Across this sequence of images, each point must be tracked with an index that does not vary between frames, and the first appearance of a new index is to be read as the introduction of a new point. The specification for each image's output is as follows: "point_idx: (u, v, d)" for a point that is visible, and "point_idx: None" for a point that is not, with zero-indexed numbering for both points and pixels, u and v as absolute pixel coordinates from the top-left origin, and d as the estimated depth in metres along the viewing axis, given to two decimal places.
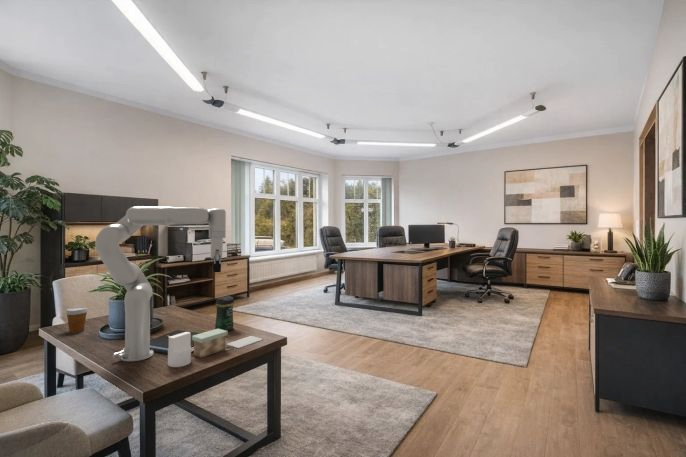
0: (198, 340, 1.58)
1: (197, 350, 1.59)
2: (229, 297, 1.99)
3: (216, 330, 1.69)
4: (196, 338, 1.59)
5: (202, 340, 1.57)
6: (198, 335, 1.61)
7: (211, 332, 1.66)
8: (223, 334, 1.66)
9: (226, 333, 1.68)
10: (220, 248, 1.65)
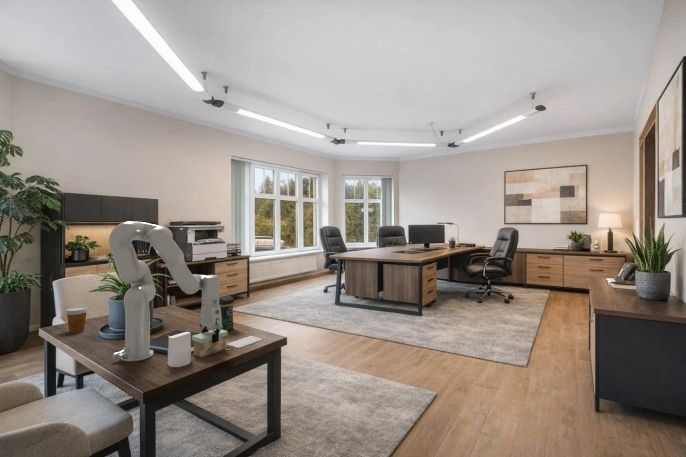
0: (198, 340, 1.58)
1: (197, 350, 1.59)
2: (229, 297, 1.99)
3: None
4: (196, 338, 1.59)
5: (202, 340, 1.57)
6: (198, 335, 1.61)
7: (211, 332, 1.66)
8: (223, 334, 1.66)
9: (226, 333, 1.68)
10: None
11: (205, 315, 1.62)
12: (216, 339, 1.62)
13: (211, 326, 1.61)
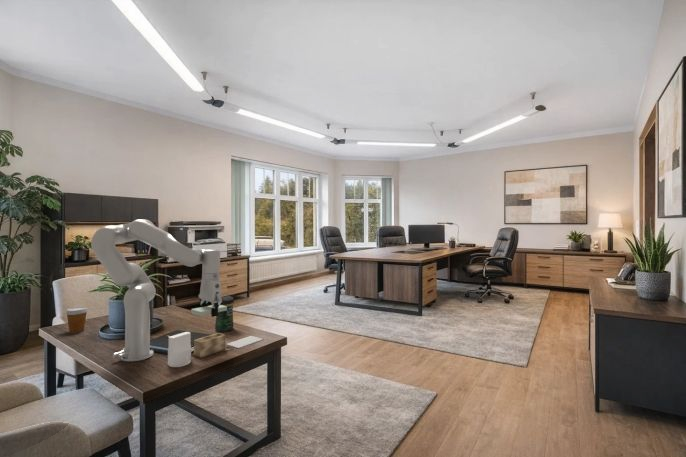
0: (197, 313, 1.58)
1: (197, 350, 1.59)
2: (229, 297, 1.99)
3: None
4: (196, 311, 1.58)
5: (201, 313, 1.57)
6: (197, 309, 1.61)
7: (210, 307, 1.66)
8: (222, 309, 1.66)
9: (225, 308, 1.68)
10: None
11: (205, 288, 1.62)
12: (215, 313, 1.61)
13: (211, 300, 1.60)
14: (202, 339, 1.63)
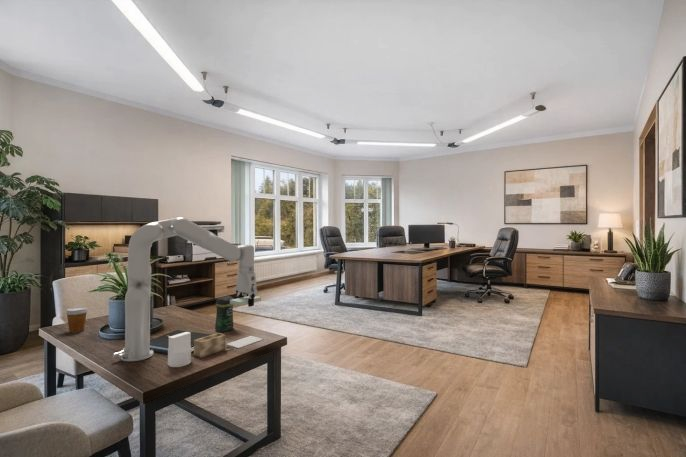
0: (236, 303, 1.72)
1: (197, 350, 1.59)
2: (229, 297, 1.99)
3: None
4: (234, 301, 1.73)
5: (240, 303, 1.72)
6: (235, 299, 1.76)
7: (246, 297, 1.80)
8: (257, 299, 1.81)
9: (260, 299, 1.82)
10: None
11: (241, 281, 1.77)
12: (252, 303, 1.76)
13: (247, 291, 1.75)
14: (202, 339, 1.63)
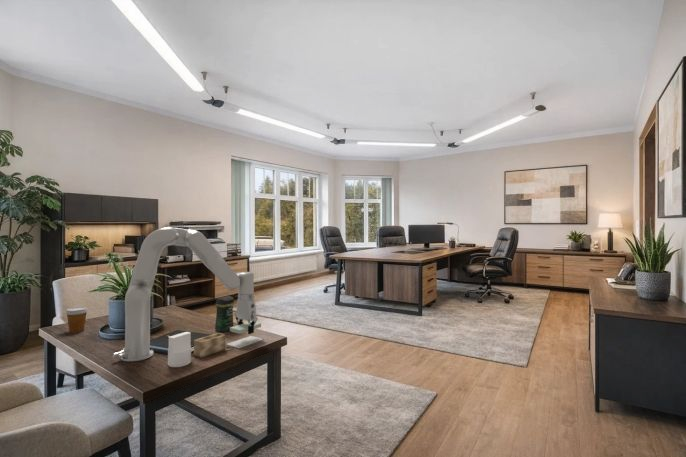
0: (236, 331, 1.73)
1: (197, 350, 1.59)
2: (229, 297, 1.99)
3: None
4: (234, 329, 1.73)
5: (240, 331, 1.72)
6: (235, 327, 1.76)
7: (246, 324, 1.81)
8: (257, 326, 1.81)
9: (260, 325, 1.83)
10: None
11: (241, 308, 1.77)
12: (252, 330, 1.77)
13: (247, 319, 1.75)
14: (202, 339, 1.63)
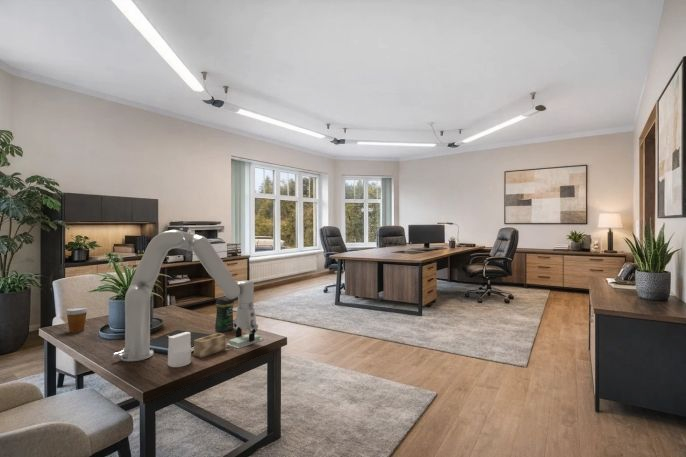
0: (235, 344, 1.73)
1: (197, 350, 1.59)
2: None
3: None
4: (233, 342, 1.73)
5: (239, 344, 1.72)
6: (234, 339, 1.76)
7: (245, 336, 1.81)
8: (256, 338, 1.81)
9: (259, 337, 1.83)
10: None
11: (241, 317, 1.77)
12: (252, 338, 1.76)
13: (247, 327, 1.75)
14: (202, 339, 1.63)
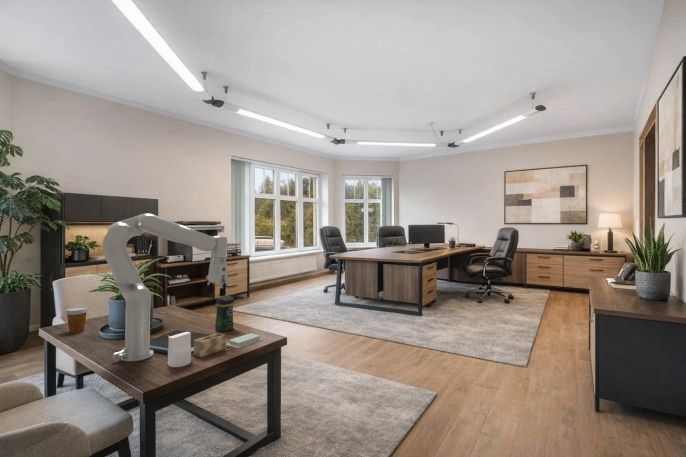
0: (235, 344, 1.73)
1: (197, 350, 1.59)
2: (229, 297, 1.99)
3: (249, 335, 1.84)
4: (233, 342, 1.73)
5: (239, 344, 1.72)
6: (234, 339, 1.76)
7: (245, 336, 1.81)
8: (256, 338, 1.81)
9: (259, 337, 1.83)
10: None
11: (212, 271, 1.77)
12: (223, 293, 1.76)
13: (218, 282, 1.75)
14: (202, 339, 1.63)
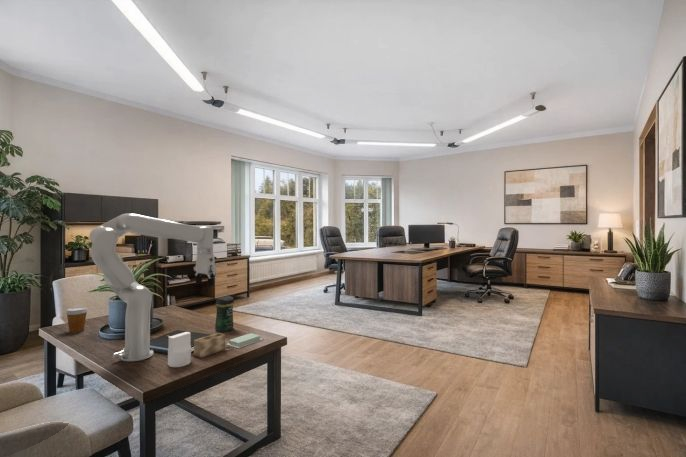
0: (235, 344, 1.73)
1: (197, 350, 1.59)
2: (229, 297, 1.99)
3: (249, 335, 1.84)
4: (233, 342, 1.73)
5: (239, 344, 1.72)
6: (234, 339, 1.76)
7: (245, 336, 1.81)
8: (256, 338, 1.81)
9: (259, 337, 1.83)
10: None
11: (200, 262, 1.78)
12: (211, 283, 1.76)
13: (205, 272, 1.76)
14: (202, 339, 1.63)
